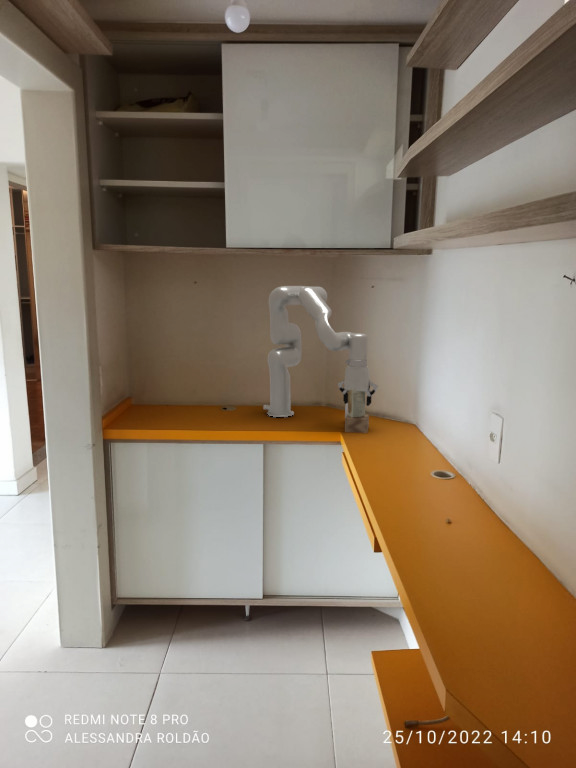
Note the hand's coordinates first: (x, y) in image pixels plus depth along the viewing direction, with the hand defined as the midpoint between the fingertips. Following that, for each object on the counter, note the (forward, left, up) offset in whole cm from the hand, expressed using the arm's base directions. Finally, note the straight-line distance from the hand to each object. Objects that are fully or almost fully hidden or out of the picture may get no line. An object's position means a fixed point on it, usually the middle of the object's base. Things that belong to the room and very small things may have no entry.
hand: (357, 404), depth 229 cm
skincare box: (0, 0, -5) cm, 5 cm away
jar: (-4, +11, -11) cm, 16 cm away
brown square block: (0, 0, -11) cm, 11 cm away
